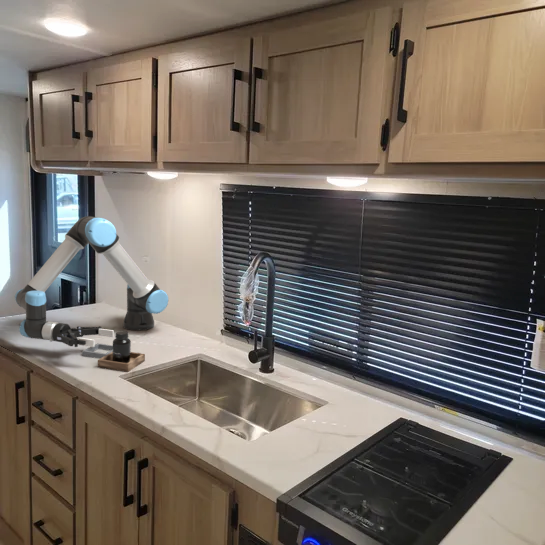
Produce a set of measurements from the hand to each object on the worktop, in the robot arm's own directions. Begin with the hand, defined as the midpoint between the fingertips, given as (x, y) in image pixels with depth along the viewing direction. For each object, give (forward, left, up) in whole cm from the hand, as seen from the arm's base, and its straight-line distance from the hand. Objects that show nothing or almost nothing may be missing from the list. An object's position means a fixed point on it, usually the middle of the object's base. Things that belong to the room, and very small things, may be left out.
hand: (104, 338), depth 195 cm
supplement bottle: (0, +8, -9) cm, 12 cm away
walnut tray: (0, +8, -9) cm, 12 cm away
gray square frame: (-8, -6, -9) cm, 14 cm away
